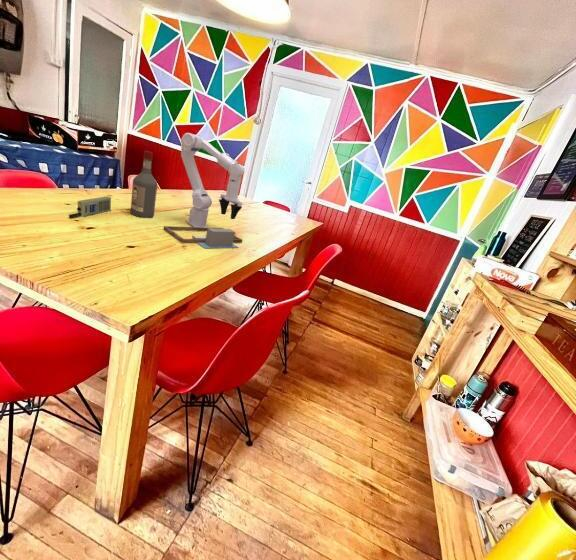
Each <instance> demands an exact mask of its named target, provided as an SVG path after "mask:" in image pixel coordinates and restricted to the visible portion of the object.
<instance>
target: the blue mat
mask: <svg viewBox="0 0 576 560" xmlns="http://www.w3.org/2000/svg"><path fill="white" fill-rule="evenodd" d="M197 245H199V246H200V247H202V248H204V249H205V250H206V249H211V250H212V249H239V246H238V245H235V243H233V245H232V247H209V246H208V245H206V244H205V243H197Z"/></svg>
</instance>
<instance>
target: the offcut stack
mask: <svg viewBox="0 0 576 560" xmlns="http://www.w3.org/2000/svg"><path fill="white" fill-rule="evenodd" d="M191 237H192V239H206V235H201V234H200V235H199V234H198V235H196V234H195V235H194V234H192V236H191Z"/></svg>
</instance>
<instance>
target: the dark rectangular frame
mask: <svg viewBox="0 0 576 560" xmlns="http://www.w3.org/2000/svg"><path fill="white" fill-rule="evenodd" d="M212 228H213V229H224V228H223V227H212ZM207 229H208V228H203V227H193V226H176V225H175V226H169V225H163V231H165V232H166V233H168V234H169V235H170V236H172V237H173V238H174V239H176V241H177V240H178V242H180V243H181V244H198V243H205V240H206V239H194V238H183V237H182V236H181V235H179V234H178V233H177V232H175V231H182V230H185V232H186V231H188V232H190V231H192V232H207ZM242 243H243V239H242V238H240V237H238V236H237V235H236V234H235V235H234V240H233V244H242Z"/></svg>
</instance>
